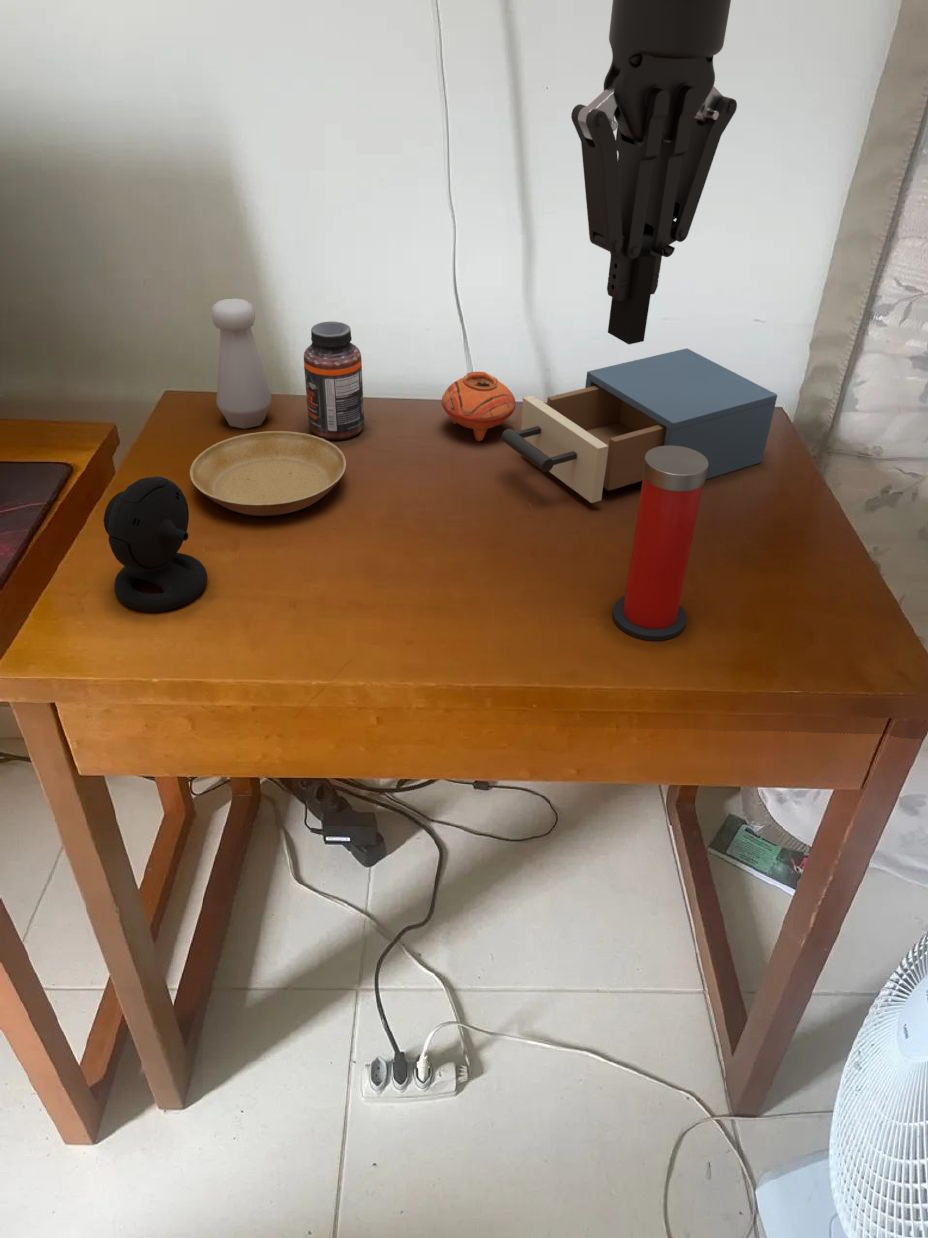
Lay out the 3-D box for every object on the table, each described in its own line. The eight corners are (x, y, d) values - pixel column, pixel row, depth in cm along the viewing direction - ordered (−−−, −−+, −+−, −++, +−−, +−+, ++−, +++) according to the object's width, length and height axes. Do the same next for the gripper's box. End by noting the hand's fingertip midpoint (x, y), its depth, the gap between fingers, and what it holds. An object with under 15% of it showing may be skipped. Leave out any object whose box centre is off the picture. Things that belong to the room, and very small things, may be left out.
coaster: (692, 606, 82) (693, 601, 82) (678, 648, 77) (678, 643, 77) (621, 590, 84) (622, 585, 83) (604, 630, 79) (604, 625, 79)
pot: (483, 403, 111) (495, 352, 106) (520, 445, 107) (535, 394, 103) (423, 416, 108) (432, 364, 103) (458, 460, 104) (470, 408, 99)
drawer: (555, 514, 91) (560, 458, 88) (485, 458, 100) (487, 405, 96) (691, 473, 98) (701, 419, 95) (615, 424, 107) (621, 373, 103)
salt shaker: (279, 411, 109) (268, 294, 102) (264, 434, 105) (251, 314, 97) (228, 406, 110) (214, 290, 102) (211, 429, 105) (194, 310, 97)
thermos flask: (683, 603, 81) (713, 452, 73) (672, 635, 78) (702, 479, 69) (628, 591, 83) (652, 440, 74) (615, 621, 79) (638, 467, 71)
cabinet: (661, 493, 97) (673, 423, 92) (579, 437, 106) (586, 371, 101) (762, 462, 103) (777, 394, 98) (676, 412, 112) (687, 347, 107)
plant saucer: (171, 522, 90) (166, 497, 89) (221, 448, 102) (217, 425, 100) (328, 535, 89) (326, 510, 88) (360, 459, 101) (359, 435, 99)
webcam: (159, 552, 86) (139, 450, 80) (227, 576, 84) (212, 472, 78) (94, 598, 81) (67, 491, 75) (165, 625, 78) (143, 517, 72)
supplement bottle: (301, 422, 107) (293, 321, 100) (353, 413, 109) (348, 313, 102) (319, 446, 103) (311, 341, 96) (372, 436, 105) (368, 333, 98)
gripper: (629, -11, 58) (586, 369, 72) (790, -16, 63) (720, 339, 77) (556, -24, 63) (530, 334, 77) (711, -28, 68) (659, 307, 82)
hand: (625, 336), depth 77 cm, fingers closed
